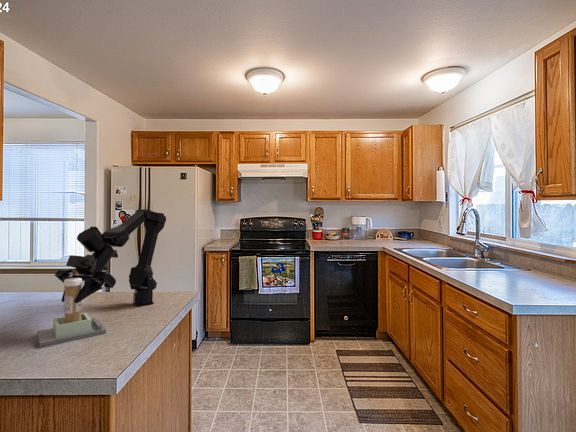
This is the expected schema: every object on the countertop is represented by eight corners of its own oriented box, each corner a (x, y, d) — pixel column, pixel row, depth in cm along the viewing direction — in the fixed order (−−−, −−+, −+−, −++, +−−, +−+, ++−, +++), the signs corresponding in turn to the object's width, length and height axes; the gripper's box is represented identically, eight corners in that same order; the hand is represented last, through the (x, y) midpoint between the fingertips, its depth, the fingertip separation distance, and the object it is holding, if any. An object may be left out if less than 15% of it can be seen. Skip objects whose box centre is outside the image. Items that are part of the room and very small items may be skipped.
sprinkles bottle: (84, 321, 94) (84, 278, 94) (67, 325, 90) (67, 281, 90) (78, 318, 97) (78, 276, 96) (61, 322, 93) (61, 278, 93)
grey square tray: (97, 323, 103) (98, 309, 103) (106, 333, 94) (106, 318, 94) (37, 334, 92) (37, 319, 92) (39, 347, 83) (40, 330, 83)
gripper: (60, 244, 99) (24, 286, 88) (109, 246, 95) (78, 290, 85) (81, 264, 107) (50, 304, 96) (127, 267, 103) (100, 309, 92)
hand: (69, 302), depth 92 cm, fingers closed on sprinkles bottle, 4 cm apart
